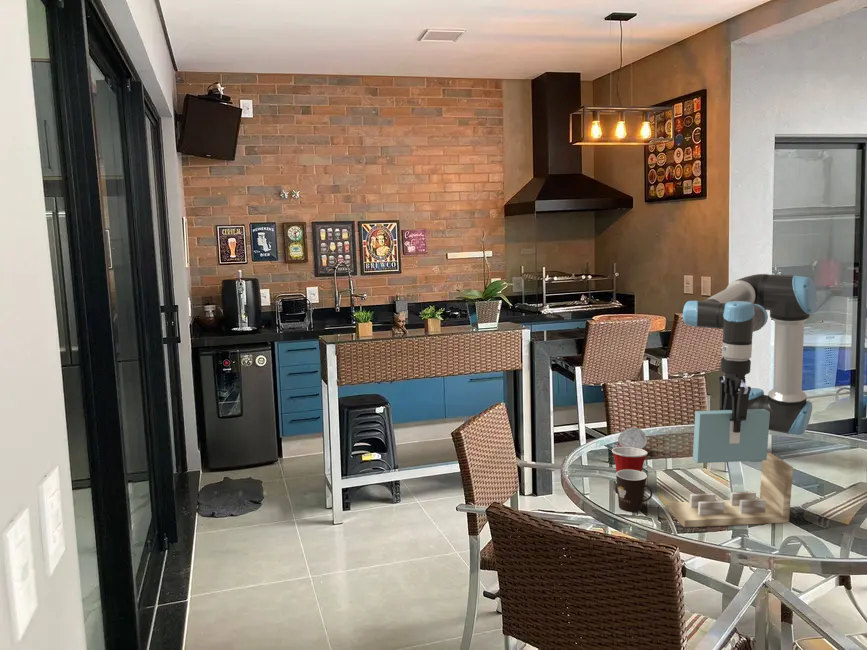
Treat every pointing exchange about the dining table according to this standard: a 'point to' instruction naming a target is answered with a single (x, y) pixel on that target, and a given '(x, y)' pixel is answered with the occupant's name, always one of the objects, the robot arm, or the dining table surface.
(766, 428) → the door
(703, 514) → the hinge base
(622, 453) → the plastic cup
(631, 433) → the canned food
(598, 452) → the dining table surface
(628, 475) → the coffee mug
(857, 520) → the dining table surface
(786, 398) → the robot arm
